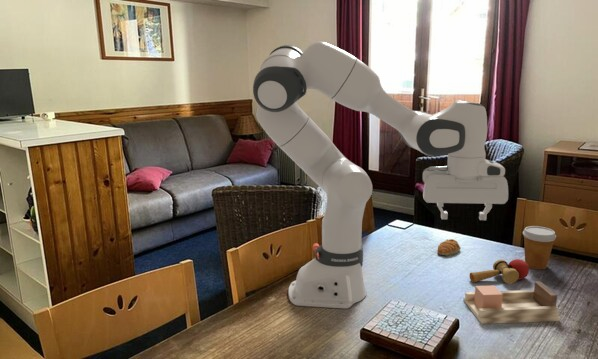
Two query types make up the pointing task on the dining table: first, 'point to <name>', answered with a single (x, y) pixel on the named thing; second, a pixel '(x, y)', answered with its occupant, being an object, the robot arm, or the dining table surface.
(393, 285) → the dining table surface
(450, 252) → the pastry
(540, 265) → the disposable coffee cup
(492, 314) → the channel
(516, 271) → the kendama
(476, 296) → the salmon pink cube
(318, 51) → the robot arm
